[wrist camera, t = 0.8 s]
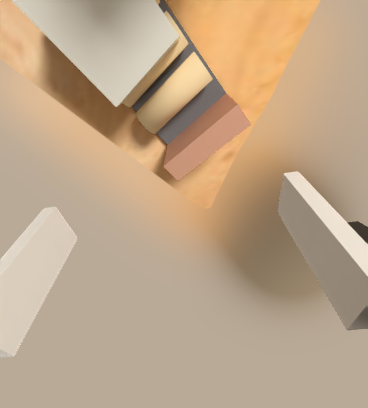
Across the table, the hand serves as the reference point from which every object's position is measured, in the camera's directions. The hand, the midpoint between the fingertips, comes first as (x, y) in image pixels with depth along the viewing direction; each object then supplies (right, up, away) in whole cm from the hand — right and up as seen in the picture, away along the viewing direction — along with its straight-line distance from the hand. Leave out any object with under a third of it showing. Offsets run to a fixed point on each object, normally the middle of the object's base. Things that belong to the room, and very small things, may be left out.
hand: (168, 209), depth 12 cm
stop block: (+4, +13, +22) cm, 26 cm away
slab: (-7, +20, +11) cm, 24 cm away
